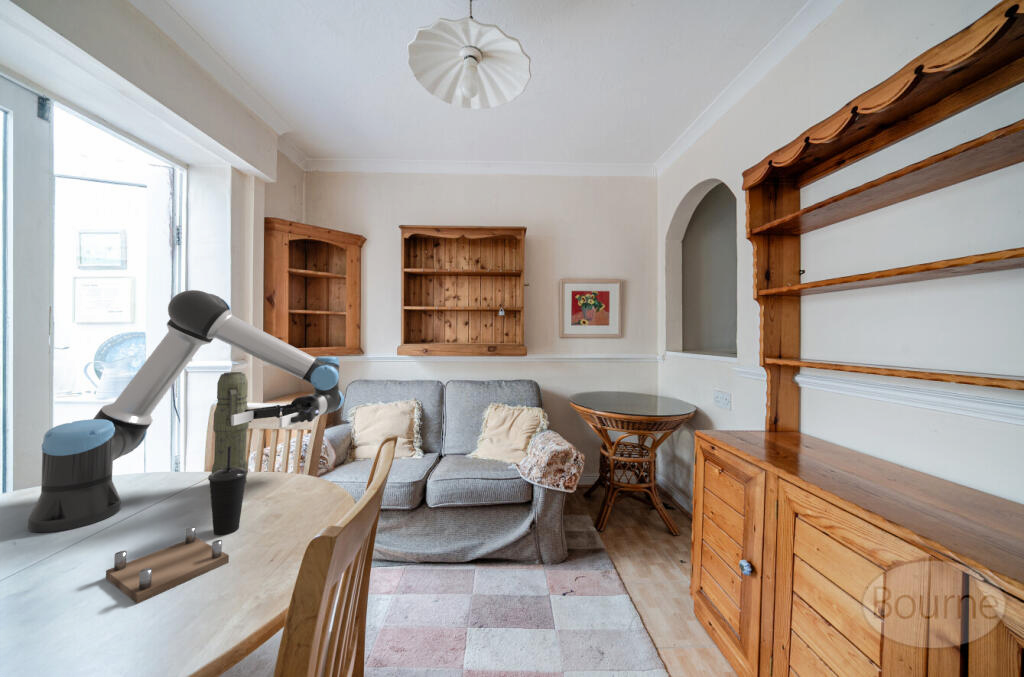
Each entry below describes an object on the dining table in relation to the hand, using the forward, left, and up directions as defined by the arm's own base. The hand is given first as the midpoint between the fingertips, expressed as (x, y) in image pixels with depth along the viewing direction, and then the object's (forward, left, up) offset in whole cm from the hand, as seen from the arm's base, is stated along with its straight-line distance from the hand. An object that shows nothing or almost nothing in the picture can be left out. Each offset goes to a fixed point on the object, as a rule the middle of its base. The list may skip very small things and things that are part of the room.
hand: (256, 421), depth 98 cm
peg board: (+11, -21, -24) cm, 34 cm away
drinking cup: (+3, -8, -25) cm, 26 cm away
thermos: (-27, +7, -25) cm, 37 cm away
